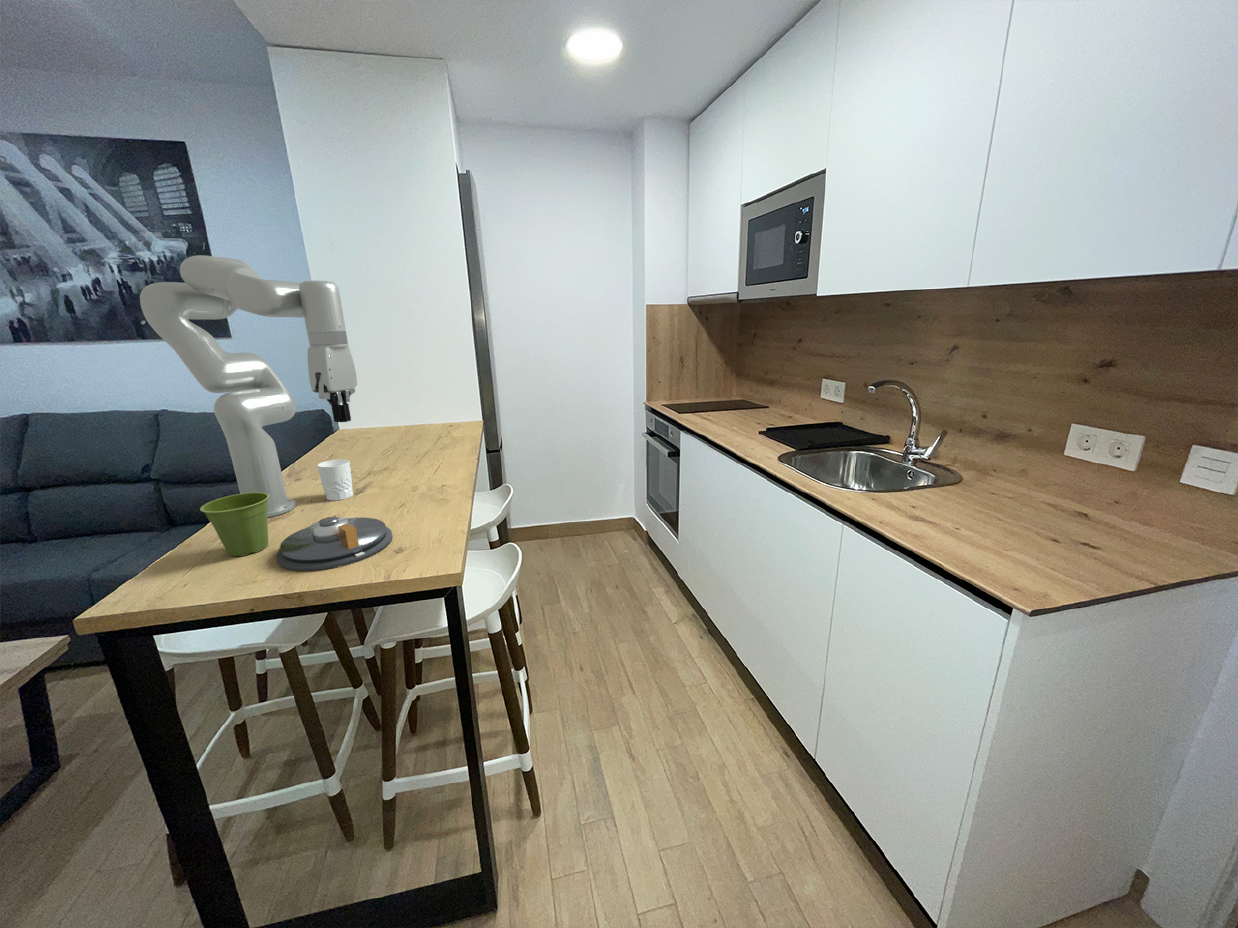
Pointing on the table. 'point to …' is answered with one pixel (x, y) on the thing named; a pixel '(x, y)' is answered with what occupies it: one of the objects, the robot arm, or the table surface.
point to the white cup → (336, 479)
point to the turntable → (352, 541)
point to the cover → (327, 529)
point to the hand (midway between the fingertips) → (342, 421)
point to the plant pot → (240, 521)
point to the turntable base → (338, 562)
